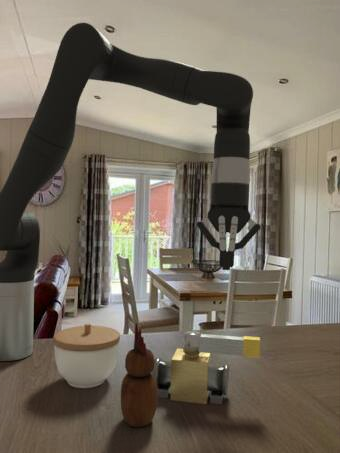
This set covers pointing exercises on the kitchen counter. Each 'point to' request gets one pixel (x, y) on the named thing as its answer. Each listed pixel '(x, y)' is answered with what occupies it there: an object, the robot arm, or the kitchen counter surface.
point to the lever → (221, 344)
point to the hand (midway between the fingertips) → (226, 269)
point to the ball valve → (191, 378)
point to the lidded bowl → (86, 354)
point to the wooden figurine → (139, 384)
